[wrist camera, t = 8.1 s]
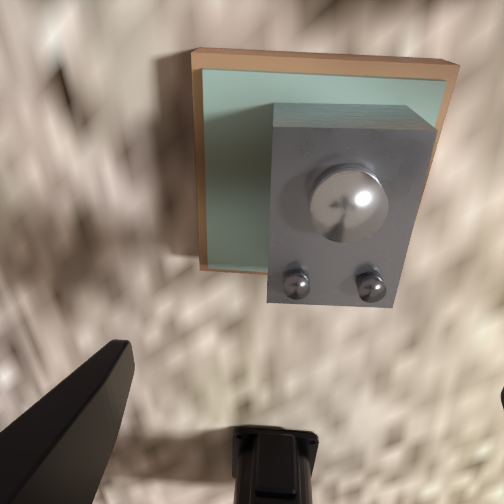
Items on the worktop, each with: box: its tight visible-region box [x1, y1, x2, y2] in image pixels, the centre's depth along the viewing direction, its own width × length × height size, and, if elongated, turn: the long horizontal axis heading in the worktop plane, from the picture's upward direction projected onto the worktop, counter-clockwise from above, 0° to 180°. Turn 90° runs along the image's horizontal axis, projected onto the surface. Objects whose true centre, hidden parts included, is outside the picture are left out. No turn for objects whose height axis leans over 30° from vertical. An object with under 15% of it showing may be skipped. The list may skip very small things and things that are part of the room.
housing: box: [267, 102, 438, 308], centre depth 15 cm, size 7×5×4 cm
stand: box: [191, 47, 460, 275], centre depth 18 cm, size 10×10×2 cm
